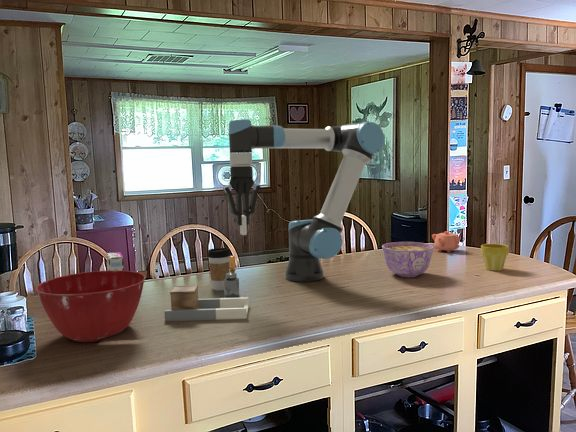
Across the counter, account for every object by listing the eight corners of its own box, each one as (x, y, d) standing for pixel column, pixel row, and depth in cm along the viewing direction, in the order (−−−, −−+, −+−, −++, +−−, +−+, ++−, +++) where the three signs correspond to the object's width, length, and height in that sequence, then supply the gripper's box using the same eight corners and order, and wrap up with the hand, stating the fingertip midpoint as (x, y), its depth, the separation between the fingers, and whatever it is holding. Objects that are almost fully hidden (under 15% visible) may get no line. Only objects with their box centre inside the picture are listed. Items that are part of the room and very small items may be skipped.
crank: (236, 279, 167) (235, 260, 166) (225, 280, 166) (224, 261, 166) (238, 273, 175) (237, 255, 175) (227, 273, 175) (227, 255, 174)
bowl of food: (426, 283, 188) (426, 252, 186) (374, 277, 198) (374, 248, 196) (439, 271, 205) (439, 243, 204) (391, 267, 215) (391, 240, 214)
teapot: (438, 254, 240) (438, 233, 239) (430, 249, 252) (431, 230, 251) (462, 253, 241) (463, 233, 240) (453, 248, 253) (454, 229, 251)
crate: (199, 310, 159) (198, 285, 158) (195, 317, 152) (194, 291, 151) (176, 311, 159) (174, 285, 158) (171, 318, 151) (170, 292, 150)
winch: (246, 298, 174) (245, 275, 173) (244, 306, 165) (243, 282, 164) (220, 299, 174) (219, 276, 173) (217, 307, 165) (216, 283, 164)
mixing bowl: (69, 318, 157) (65, 269, 155) (160, 317, 156) (157, 268, 154) (19, 354, 129) (13, 295, 127) (129, 352, 128) (125, 293, 126)
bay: (248, 309, 162) (248, 297, 161) (246, 321, 150) (246, 308, 149) (173, 311, 161) (172, 299, 161) (165, 324, 149) (164, 311, 149)
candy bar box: (126, 304, 170) (123, 256, 168) (111, 306, 168) (107, 258, 166) (123, 296, 181) (120, 251, 179) (108, 298, 179) (105, 252, 177)
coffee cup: (227, 291, 183) (226, 251, 181) (205, 291, 185) (203, 250, 183) (234, 285, 191) (233, 246, 189) (213, 285, 193) (211, 246, 191)
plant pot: (495, 265, 214) (495, 242, 213) (513, 270, 204) (514, 246, 203) (475, 267, 210) (475, 244, 209) (493, 273, 201) (493, 248, 199)
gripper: (255, 165, 178) (257, 231, 180) (219, 166, 172) (222, 234, 175) (263, 165, 171) (265, 234, 174) (225, 166, 166) (228, 237, 168)
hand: (243, 234), depth 174 cm, fingers closed
